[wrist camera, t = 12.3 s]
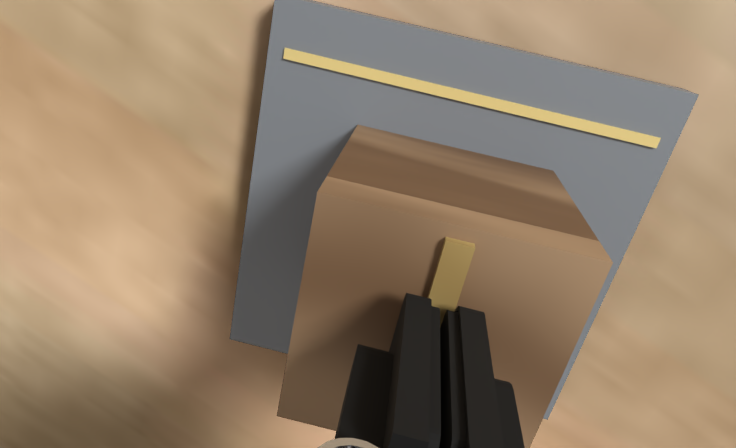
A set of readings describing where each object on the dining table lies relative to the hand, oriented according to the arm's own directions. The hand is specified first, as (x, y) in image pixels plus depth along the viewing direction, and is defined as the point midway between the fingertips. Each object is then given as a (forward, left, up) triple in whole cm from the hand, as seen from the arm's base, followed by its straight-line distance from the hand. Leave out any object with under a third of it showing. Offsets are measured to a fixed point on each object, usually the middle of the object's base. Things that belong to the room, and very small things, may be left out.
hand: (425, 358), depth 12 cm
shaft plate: (0, 0, -8) cm, 8 cm away
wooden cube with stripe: (0, 0, -6) cm, 7 cm away
